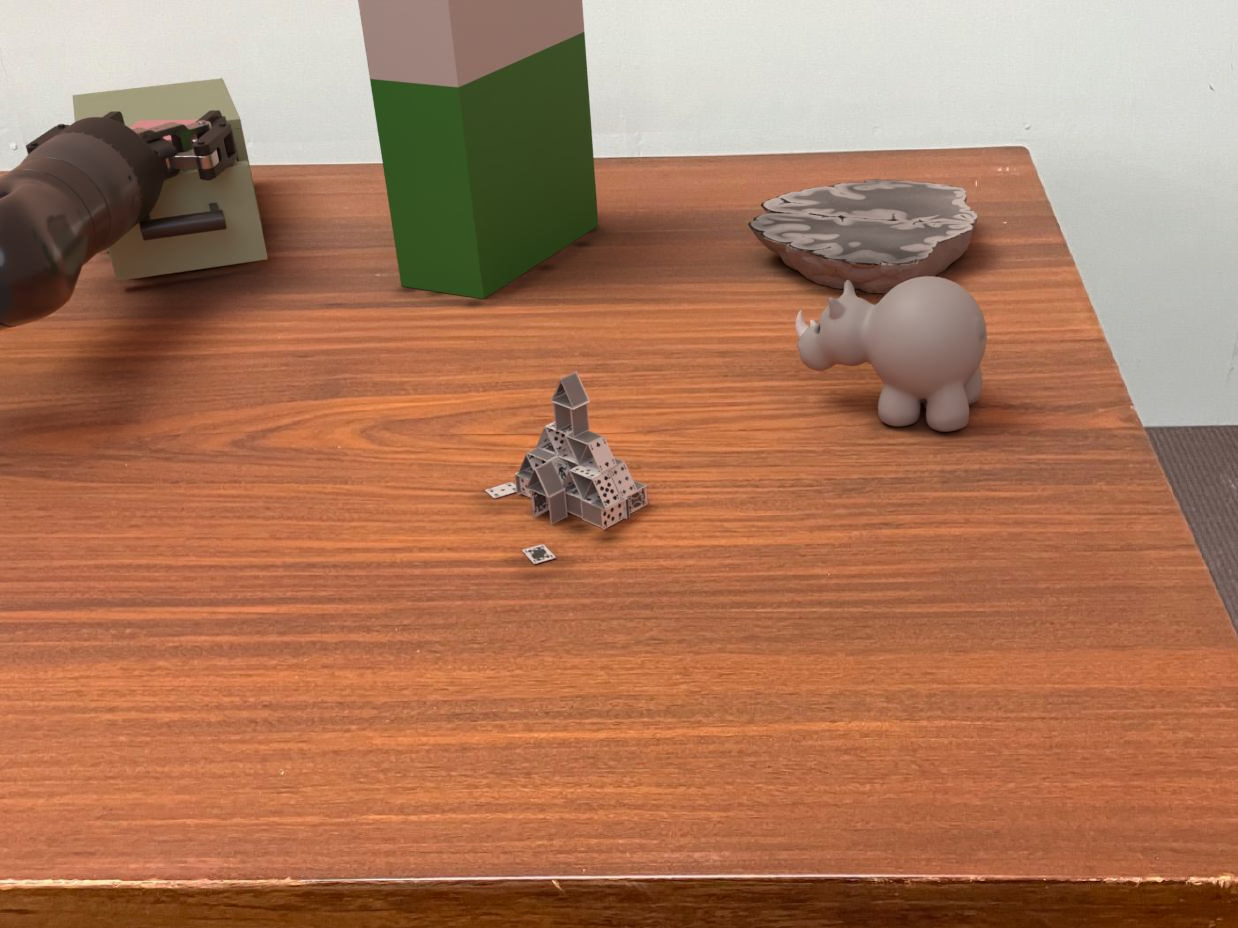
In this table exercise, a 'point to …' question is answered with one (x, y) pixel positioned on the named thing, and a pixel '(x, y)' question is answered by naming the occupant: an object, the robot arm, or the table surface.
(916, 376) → the chubby cartoon animal
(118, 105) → the cabinet
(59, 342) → the table surface
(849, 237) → the brain slice
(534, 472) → the house of cards
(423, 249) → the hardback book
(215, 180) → the drawer
